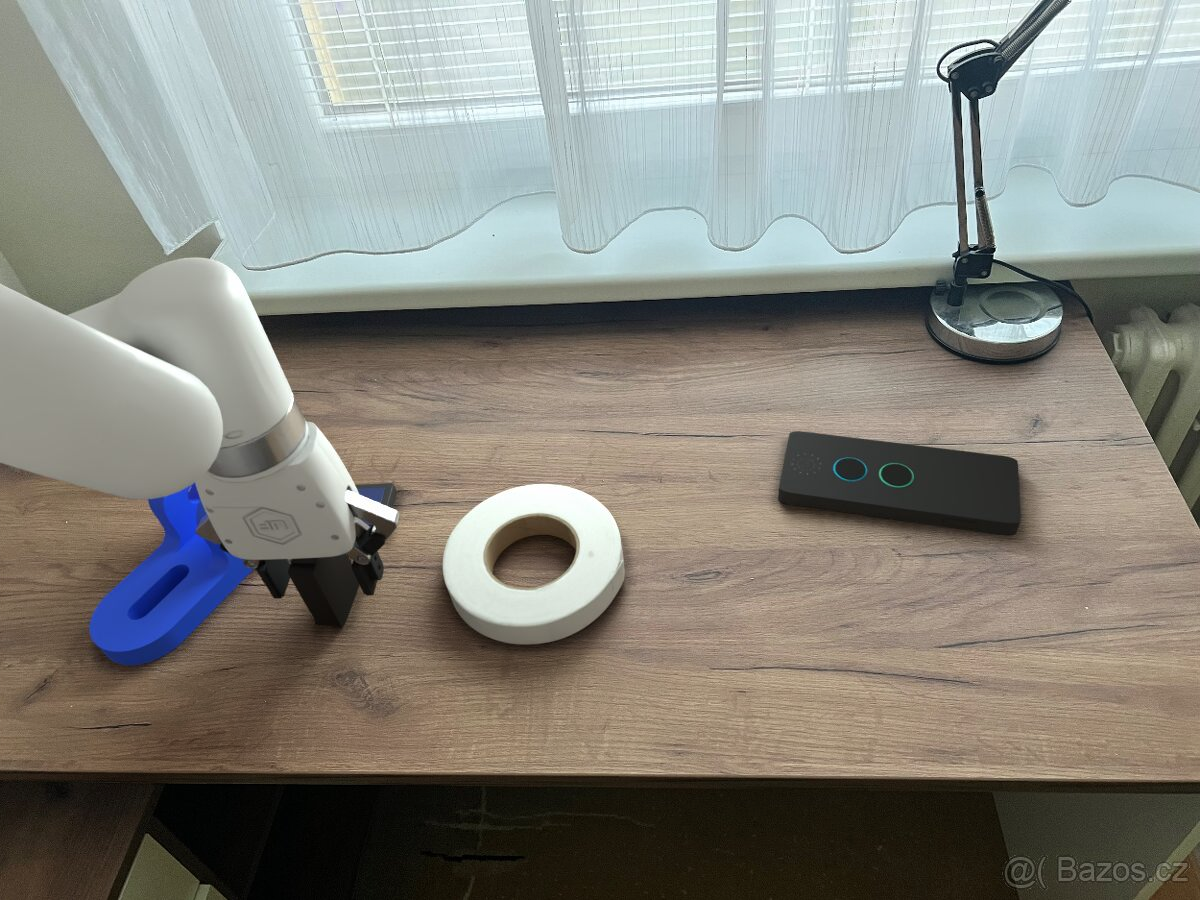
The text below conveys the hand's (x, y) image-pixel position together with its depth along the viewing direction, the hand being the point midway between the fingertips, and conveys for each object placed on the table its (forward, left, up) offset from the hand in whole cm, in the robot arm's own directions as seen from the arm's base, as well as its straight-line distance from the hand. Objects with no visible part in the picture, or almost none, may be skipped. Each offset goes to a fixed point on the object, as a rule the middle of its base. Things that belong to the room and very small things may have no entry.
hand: (328, 582), depth 73 cm
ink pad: (-2, +10, -3) cm, 11 cm away
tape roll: (+17, +3, -3) cm, 18 cm away
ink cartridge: (0, 0, -3) cm, 3 cm away
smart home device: (+49, +11, -3) cm, 50 cm away
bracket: (-15, +3, -3) cm, 15 cm away
